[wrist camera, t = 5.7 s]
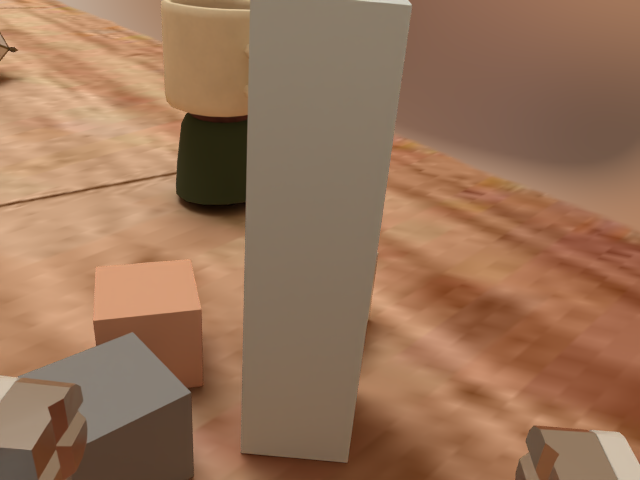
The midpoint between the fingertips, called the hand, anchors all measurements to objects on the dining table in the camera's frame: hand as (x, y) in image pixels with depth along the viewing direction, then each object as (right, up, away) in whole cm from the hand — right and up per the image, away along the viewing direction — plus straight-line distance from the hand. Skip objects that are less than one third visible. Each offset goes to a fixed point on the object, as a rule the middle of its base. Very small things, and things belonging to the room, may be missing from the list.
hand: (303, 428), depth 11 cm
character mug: (-7, +6, +31) cm, 33 cm away
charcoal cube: (-7, -5, +10) cm, 13 cm away
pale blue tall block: (-1, -4, +13) cm, 14 cm away
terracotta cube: (-7, -2, +15) cm, 17 cm away
